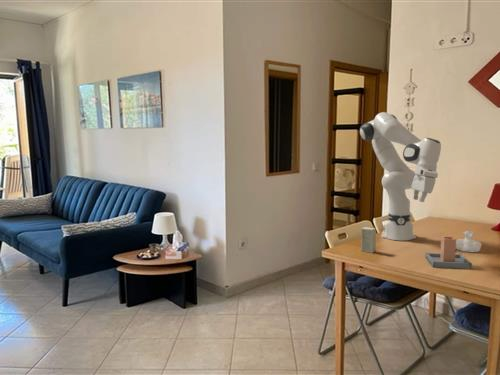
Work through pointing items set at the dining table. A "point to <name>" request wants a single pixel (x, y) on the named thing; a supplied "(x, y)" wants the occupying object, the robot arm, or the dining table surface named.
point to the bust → (468, 243)
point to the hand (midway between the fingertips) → (418, 200)
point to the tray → (459, 262)
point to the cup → (448, 249)
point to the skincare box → (368, 239)
